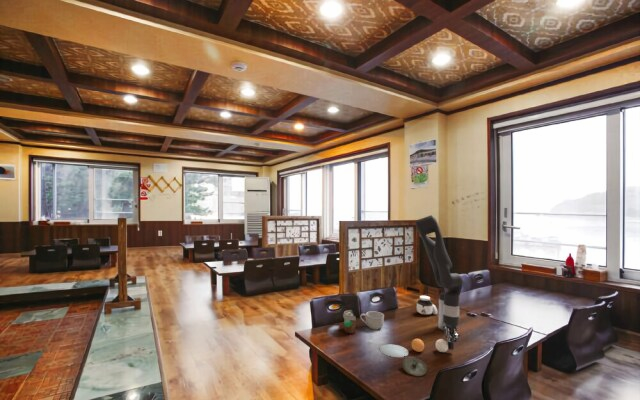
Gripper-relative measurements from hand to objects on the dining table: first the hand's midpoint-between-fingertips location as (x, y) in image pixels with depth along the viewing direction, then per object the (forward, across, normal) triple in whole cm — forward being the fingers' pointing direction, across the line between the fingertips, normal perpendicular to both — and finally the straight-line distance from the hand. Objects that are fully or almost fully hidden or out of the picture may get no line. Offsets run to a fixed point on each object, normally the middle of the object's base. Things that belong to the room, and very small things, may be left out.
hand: (450, 349), depth 156 cm
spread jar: (+1, +57, -13) cm, 59 cm away
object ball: (-1, +2, +16) cm, 16 cm away
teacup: (+2, +34, +32) cm, 46 cm away
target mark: (+2, +2, +28) cm, 28 cm away
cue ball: (-1, +1, +4) cm, 4 cm away
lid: (+2, -17, +25) cm, 30 cm away
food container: (+2, +28, +47) cm, 55 cm away
